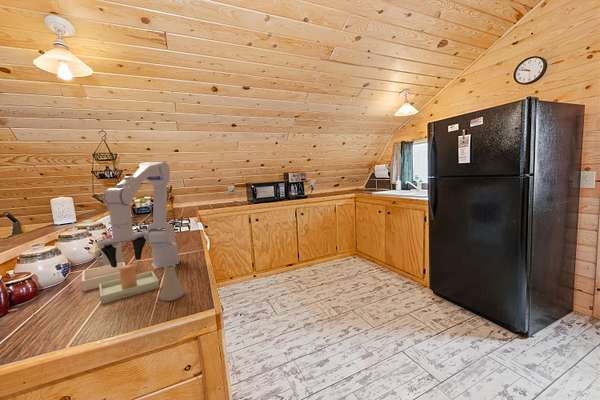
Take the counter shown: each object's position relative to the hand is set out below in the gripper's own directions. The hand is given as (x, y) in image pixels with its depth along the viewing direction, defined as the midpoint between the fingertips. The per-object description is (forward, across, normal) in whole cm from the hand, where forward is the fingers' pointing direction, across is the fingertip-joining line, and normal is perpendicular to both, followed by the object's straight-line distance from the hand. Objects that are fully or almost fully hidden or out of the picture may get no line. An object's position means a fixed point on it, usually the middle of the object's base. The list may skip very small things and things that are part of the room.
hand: (126, 262), depth 88 cm
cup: (+10, -9, -34) cm, 36 cm away
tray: (+9, 0, 0) cm, 9 cm away
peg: (+8, 0, 0) cm, 8 cm away
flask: (+10, -3, +19) cm, 21 cm away
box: (+9, 0, -16) cm, 19 cm away
